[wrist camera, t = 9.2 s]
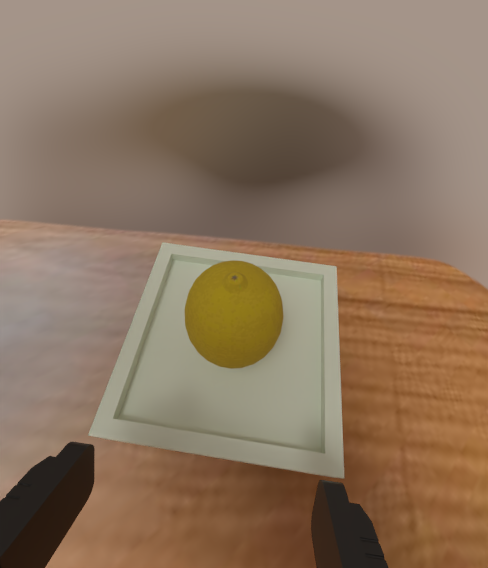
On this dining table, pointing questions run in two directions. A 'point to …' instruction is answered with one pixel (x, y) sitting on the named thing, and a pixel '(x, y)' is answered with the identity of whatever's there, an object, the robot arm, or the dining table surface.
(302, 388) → the stool
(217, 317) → the lemon
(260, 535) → the dining table surface
